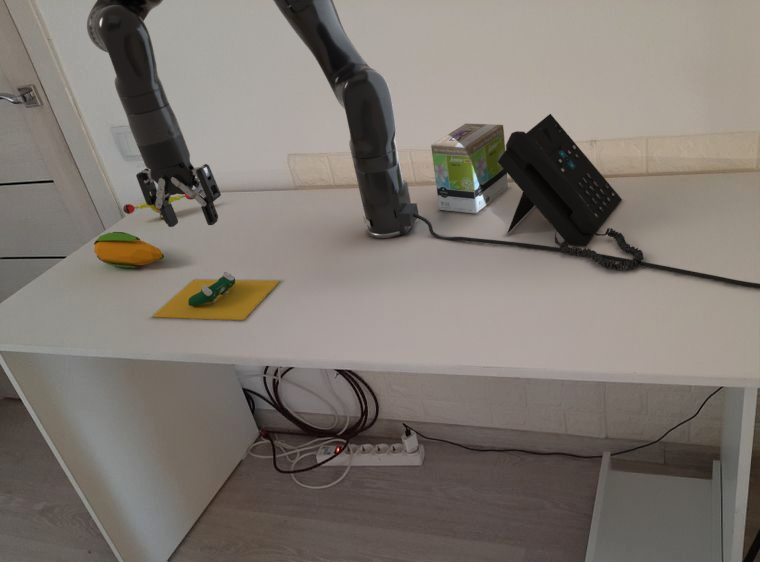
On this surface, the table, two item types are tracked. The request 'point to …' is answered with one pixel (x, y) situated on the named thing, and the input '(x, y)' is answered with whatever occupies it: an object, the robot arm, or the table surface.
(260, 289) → the cloth
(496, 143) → the tea box
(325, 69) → the robot arm
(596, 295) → the table surface
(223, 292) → the gaming controller
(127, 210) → the toy figure
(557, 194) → the office phone
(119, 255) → the corn
